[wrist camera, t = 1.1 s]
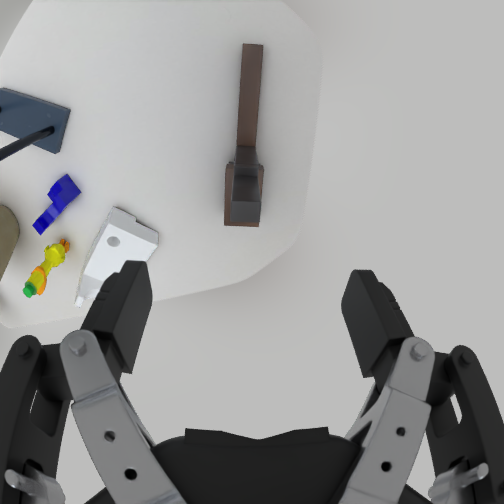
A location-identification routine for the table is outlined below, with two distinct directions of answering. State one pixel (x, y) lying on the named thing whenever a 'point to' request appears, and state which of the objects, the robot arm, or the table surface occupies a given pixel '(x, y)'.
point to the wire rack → (31, 122)
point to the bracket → (114, 251)
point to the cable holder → (57, 202)
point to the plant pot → (7, 237)
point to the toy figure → (45, 268)
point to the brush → (246, 148)
